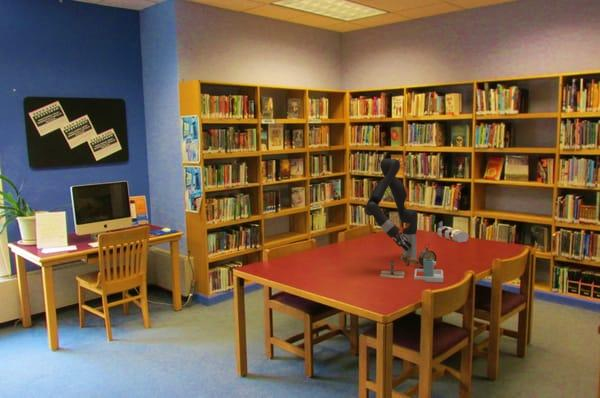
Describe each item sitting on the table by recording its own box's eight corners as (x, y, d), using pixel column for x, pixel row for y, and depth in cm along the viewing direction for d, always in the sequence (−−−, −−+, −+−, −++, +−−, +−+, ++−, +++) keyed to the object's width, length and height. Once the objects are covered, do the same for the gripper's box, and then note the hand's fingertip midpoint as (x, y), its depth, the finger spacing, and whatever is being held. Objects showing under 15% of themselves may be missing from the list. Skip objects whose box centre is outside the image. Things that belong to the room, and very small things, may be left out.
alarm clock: (422, 271, 305) (422, 245, 303) (417, 268, 310) (417, 243, 308) (436, 268, 310) (437, 243, 307) (431, 266, 314) (431, 241, 312)
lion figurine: (399, 267, 315) (399, 253, 314) (402, 265, 319) (402, 251, 318) (421, 270, 306) (421, 256, 305) (424, 268, 310) (424, 254, 309)
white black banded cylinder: (437, 236, 398) (437, 220, 396) (448, 235, 401) (448, 219, 399) (456, 242, 375) (456, 225, 373) (468, 241, 378) (468, 224, 376)
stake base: (381, 272, 305) (381, 257, 303) (405, 273, 301) (405, 258, 300) (379, 279, 291) (379, 263, 290) (403, 280, 288) (403, 264, 286)
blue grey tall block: (425, 275, 294) (425, 258, 293) (436, 276, 291) (436, 259, 290) (423, 277, 290) (423, 261, 288) (434, 278, 287) (434, 262, 285)
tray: (415, 273, 301) (415, 268, 300) (442, 274, 296) (442, 269, 296) (414, 281, 285) (414, 276, 285) (443, 283, 281) (443, 277, 281)
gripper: (391, 226, 289) (411, 247, 285) (397, 222, 301) (416, 241, 298) (382, 235, 292) (402, 255, 288) (388, 230, 304) (407, 249, 301)
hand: (409, 248), depth 293 cm, fingers open, 8 cm apart
